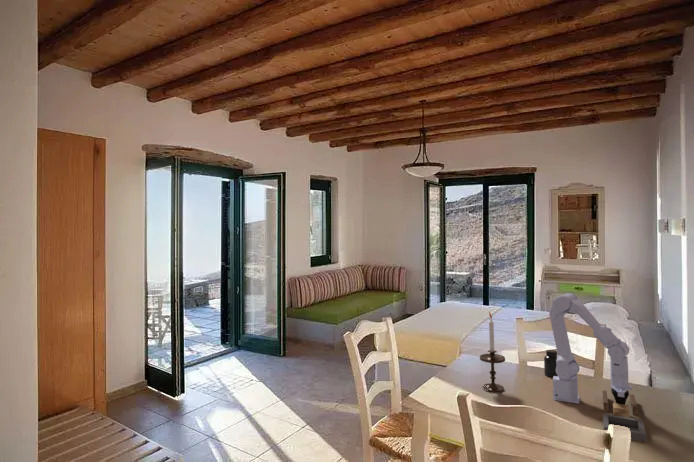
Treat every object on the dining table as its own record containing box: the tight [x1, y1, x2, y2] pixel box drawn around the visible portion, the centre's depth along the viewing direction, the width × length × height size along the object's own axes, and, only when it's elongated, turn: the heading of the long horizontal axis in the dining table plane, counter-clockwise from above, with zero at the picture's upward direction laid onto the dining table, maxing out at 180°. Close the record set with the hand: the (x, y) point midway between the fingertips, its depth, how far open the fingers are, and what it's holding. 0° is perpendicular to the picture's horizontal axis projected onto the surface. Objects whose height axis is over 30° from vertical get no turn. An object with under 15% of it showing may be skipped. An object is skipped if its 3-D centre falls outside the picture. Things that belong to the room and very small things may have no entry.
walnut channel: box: [602, 390, 639, 417], centre depth 167 cm, size 11×14×3 cm
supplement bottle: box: [543, 349, 558, 378], centre depth 203 cm, size 7×7×12 cm
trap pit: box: [602, 413, 648, 443], centre depth 147 cm, size 12×12×2 cm
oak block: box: [612, 402, 631, 418], centre depth 157 cm, size 5×5×4 cm
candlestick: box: [479, 311, 506, 393], centre depth 188 cm, size 11×11×35 cm
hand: (620, 409), depth 161 cm, fingers closed
